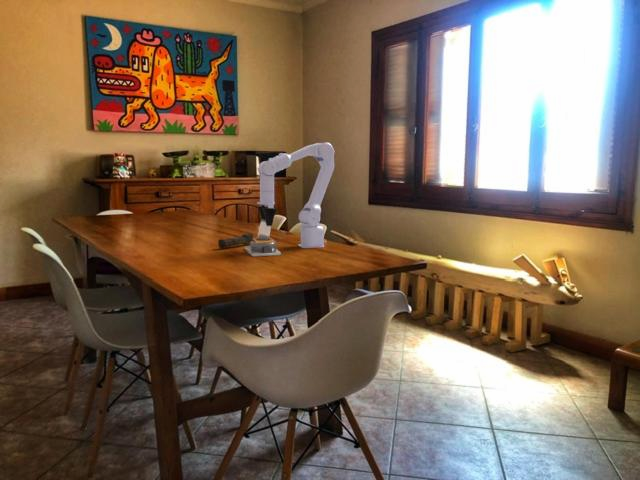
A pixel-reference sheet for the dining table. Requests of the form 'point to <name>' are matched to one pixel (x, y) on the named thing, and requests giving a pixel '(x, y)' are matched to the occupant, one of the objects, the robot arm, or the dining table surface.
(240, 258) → the dining table surface
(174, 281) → the dining table surface
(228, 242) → the hand tool
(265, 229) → the block
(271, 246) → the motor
